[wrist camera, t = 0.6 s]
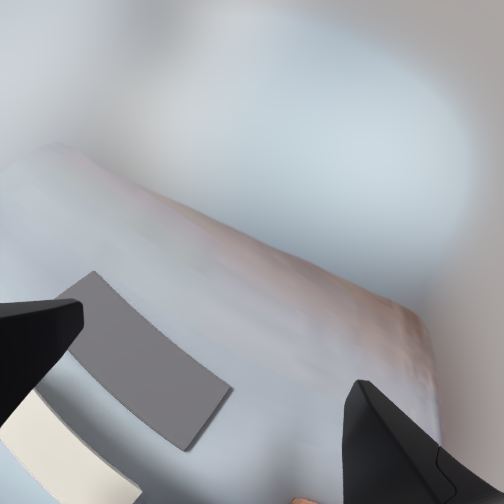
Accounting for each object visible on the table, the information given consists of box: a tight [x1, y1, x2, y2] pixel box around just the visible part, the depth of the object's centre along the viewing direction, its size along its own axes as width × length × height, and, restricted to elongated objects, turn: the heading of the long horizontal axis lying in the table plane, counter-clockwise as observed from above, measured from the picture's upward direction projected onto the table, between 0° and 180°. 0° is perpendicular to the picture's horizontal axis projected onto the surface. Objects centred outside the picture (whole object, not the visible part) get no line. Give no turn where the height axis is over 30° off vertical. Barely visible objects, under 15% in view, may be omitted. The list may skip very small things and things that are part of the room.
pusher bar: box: [0, 387, 143, 504], centre depth 11 cm, size 4×14×6 cm, turn 61°
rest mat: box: [54, 271, 231, 451], centre depth 20 cm, size 7×16×1 cm, turn 61°
